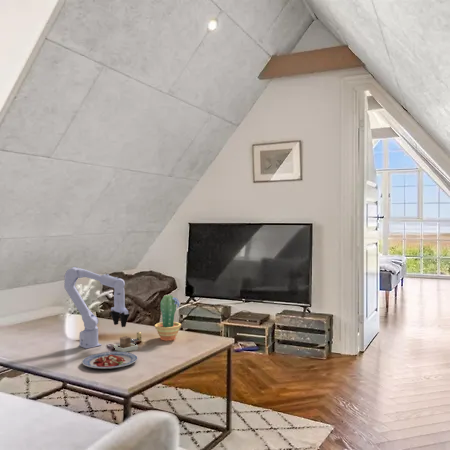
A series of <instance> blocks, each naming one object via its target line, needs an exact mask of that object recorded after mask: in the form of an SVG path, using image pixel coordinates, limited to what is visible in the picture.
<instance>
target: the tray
mask: <svg viewBox="0 0 450 450" xmlns="http://www.w3.org/2000/svg"><path fill="white" fill-rule="evenodd" d="M118 346H120V343H118V344H114V345H113V347H114V348H115V350H114V351H115V352H127V353H131V352H133V351H139V345H138V344H136V345H135V344H133V343H131V347H127V348H121V347H118ZM113 347H112V348H113Z"/></svg>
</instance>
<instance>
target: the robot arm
mask: <svg viewBox="0 0 450 450" xmlns="http://www.w3.org/2000/svg"><path fill="white" fill-rule="evenodd" d="M81 278H88V279H90V280H95V281H98V282H99V283H100V285H103V286H106V287H108V288H113V289H114V292H113V305H114V306H113V307H110V311H111V312H109V314H110V317H111V318H112V321H113V324H114V325H115V326H117V325H119V322H120V326H121V328H126V326H127V322H128V319H129V317H130V316H131V315H130V313H129V310H128V309H127V307H126V301H125V300H126V299H125V298H126V295H125V294H126V293H125V285H126V282H125V280H124V279H123V278H121V277H118V276H112V275H110V273H106V274H105V273H104V274H98V273H96V272H93V271H91V270H88V269H85V268H81V267H78V266H73V267H70V268H68V269H67V270H66V271H65V274H64V282H63V283H64V289H65V292H66V293H67V294H68V296H69V298H70V299H71V302H72V303H73V305H74V306H75V307H76V309H77V311H78V312H79V314H80V316H81V320H82V322H83V326H84V330H81V331H80V332H79V344H78V346H79V347H80V348H84V349H91V348H95V347H101V346H102V344H101V343H99V327H98V324H99V318H98V317H97V316H96V315H94V313H93V312H92V311H91V310H90V309H89V307H88V305H87V304H86V301H85V300H84V299H83V297H82V296H81V294H80V291H78V289H77V287H76V283H77V280H79V279H81ZM119 319H120V321H119Z"/></svg>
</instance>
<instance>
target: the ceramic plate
mask: <svg viewBox="0 0 450 450" xmlns="http://www.w3.org/2000/svg"><path fill="white" fill-rule="evenodd" d="M137 361H138V355H136V354H134V353H131V352H118V351H108V352H107V351H105V352H98V353H94V354H90V355H88V356H86V357H84V358H83V359H82V360H81V363H82V365H83V366H85V367H88V368H93V369H100V370H112V369H119V368H123V367H125V366H129V365H132V364H134V363H135V362H137Z"/></svg>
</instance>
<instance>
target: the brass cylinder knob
mask: <svg viewBox="0 0 450 450" xmlns="http://www.w3.org/2000/svg"><path fill="white" fill-rule="evenodd" d="M134 341H136V342H138V341H142V331H137V332H136V338H131V342H134Z"/></svg>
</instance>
